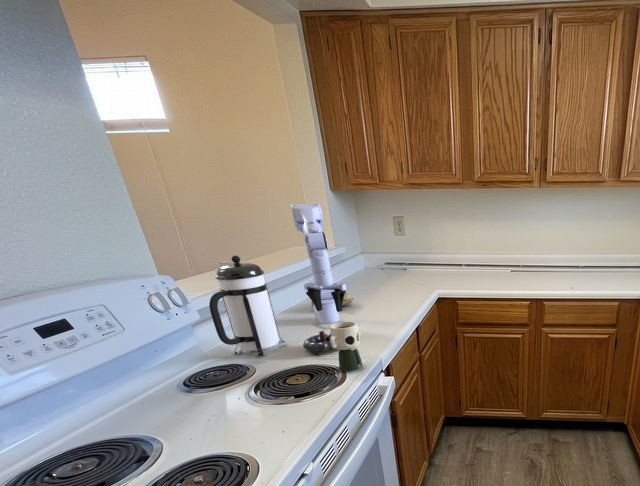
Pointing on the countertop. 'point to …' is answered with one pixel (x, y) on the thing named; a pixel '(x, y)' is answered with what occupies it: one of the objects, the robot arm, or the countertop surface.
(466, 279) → the countertop surface
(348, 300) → the sponge
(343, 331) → the character mug
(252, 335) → the coffee press
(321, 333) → the peg
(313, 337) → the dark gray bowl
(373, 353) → the countertop surface
